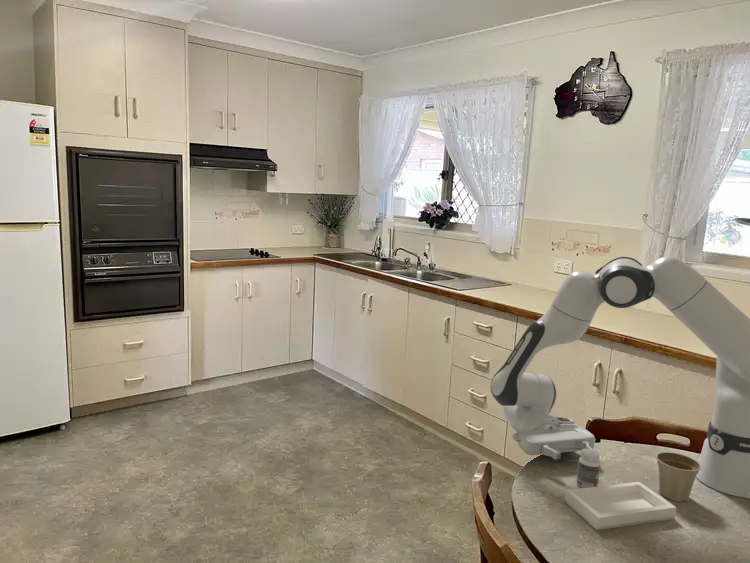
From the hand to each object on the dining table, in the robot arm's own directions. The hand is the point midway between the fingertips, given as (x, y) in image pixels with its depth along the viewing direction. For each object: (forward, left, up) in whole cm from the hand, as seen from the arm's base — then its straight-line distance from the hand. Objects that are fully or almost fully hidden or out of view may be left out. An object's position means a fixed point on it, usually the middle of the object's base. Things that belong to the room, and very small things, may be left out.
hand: (574, 454), depth 138 cm
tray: (0, +17, -5) cm, 18 cm away
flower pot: (-18, +14, -5) cm, 23 cm away
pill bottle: (0, +6, -5) cm, 8 cm away
